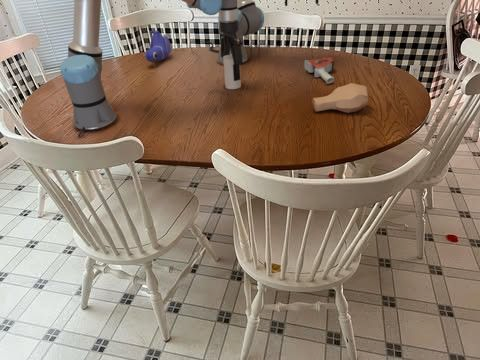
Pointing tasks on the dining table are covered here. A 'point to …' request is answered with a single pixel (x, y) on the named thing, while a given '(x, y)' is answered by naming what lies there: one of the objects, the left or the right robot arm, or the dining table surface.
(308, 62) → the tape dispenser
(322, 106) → the squash
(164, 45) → the toy
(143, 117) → the dining table surface
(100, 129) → the left robot arm
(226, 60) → the can
